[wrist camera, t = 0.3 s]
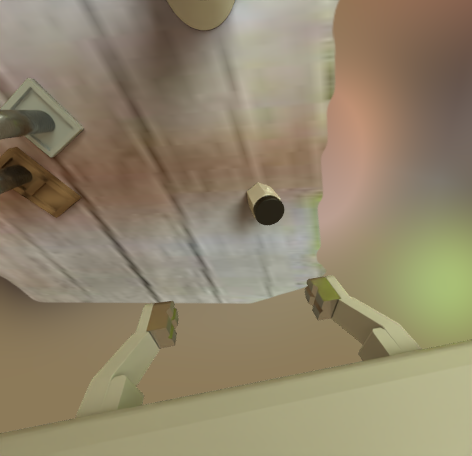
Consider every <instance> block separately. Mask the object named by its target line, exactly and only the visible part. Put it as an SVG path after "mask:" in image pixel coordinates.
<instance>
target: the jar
mask: <svg viewBox="0 0 472 456" xmlns="http://www.w3.org/2000/svg"><path fill="white" fill-rule="evenodd" d="M247 198H248V205H249V207H250V209H251V211H252V214H253V216H254V218H256V220H257V221H258V222H259V223H260V224H263V225H272V224H275V223H276V222H278V221H279V220H280V219H281V218H282V216H283V214H284V206H283V204H282V202H281V201H280V197H279V196H278V195H277V194H276V193H275V191H274V190H273V189H272V188H271V187H270V186H267V185H264V184H261V183H257V184H255V185H254V186H253V187H252V188H251V189H249V190H248V191H247Z"/></svg>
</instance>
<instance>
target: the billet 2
mask: <svg viewBox="0 0 472 456" xmlns="http://www.w3.org/2000/svg"><path fill="white" fill-rule="evenodd" d="M32 179H33V177H32V174H31V172H30V171H29V170H28V169H26V168H25V167H23V166H20V165H13V166H10V167H6V168H3V169H0V194H1V193H4V192H6V191H9V190H11V189H14V188H16V187H19V186H21V185H23V184H26V183H28V182H31V181H32Z"/></svg>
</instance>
